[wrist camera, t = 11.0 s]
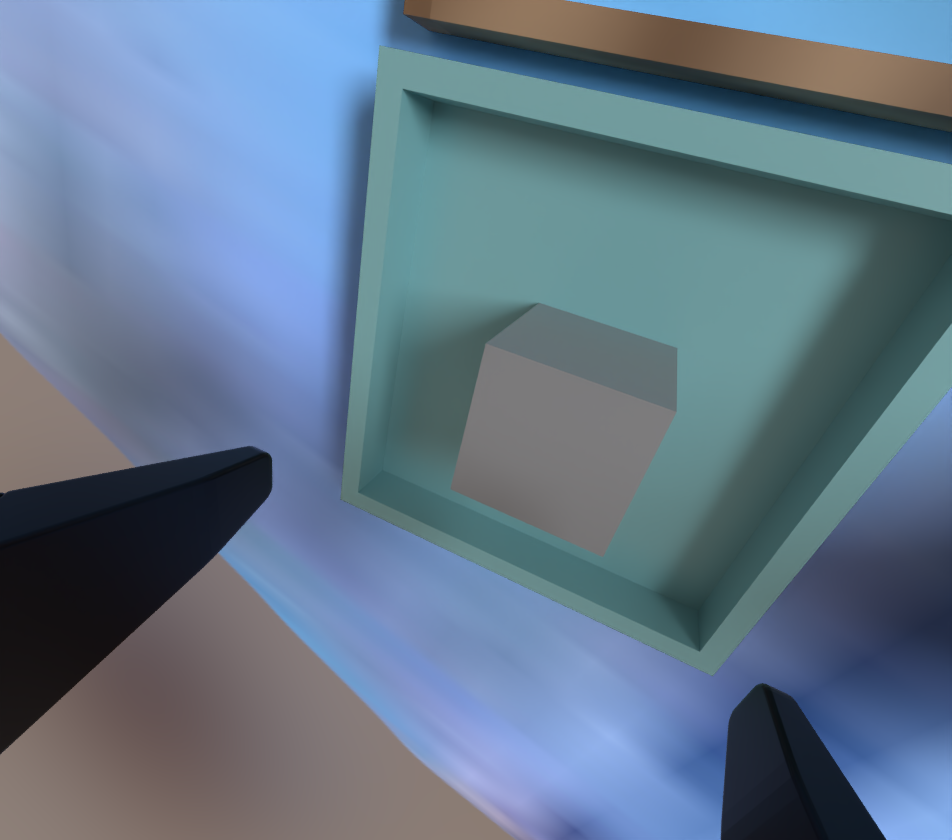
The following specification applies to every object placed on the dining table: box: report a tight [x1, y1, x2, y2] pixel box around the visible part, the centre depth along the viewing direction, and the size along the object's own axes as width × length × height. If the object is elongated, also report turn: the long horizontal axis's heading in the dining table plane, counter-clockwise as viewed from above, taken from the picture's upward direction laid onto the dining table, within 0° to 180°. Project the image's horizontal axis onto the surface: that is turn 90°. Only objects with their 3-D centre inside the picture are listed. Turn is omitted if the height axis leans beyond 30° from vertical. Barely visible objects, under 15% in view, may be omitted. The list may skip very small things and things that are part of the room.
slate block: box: [450, 303, 677, 557], centre depth 14 cm, size 4×4×5 cm
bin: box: [341, 46, 952, 676], centre depth 15 cm, size 16×16×2 cm
